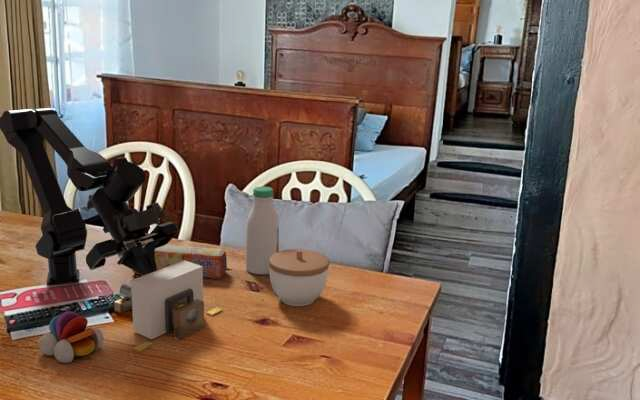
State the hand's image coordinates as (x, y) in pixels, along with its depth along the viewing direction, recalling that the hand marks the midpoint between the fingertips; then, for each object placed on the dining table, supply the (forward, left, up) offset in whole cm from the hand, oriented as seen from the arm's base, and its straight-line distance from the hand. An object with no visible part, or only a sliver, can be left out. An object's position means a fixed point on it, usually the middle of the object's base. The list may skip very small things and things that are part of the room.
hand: (156, 281), depth 115 cm
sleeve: (+3, +2, -8) cm, 9 cm away
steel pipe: (0, 0, -8) cm, 8 cm away
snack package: (-22, +7, -8) cm, 25 cm away
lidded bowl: (-1, +29, -8) cm, 30 cm away
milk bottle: (-19, +26, -8) cm, 34 cm away
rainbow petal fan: (+8, -15, -8) cm, 19 cm away
